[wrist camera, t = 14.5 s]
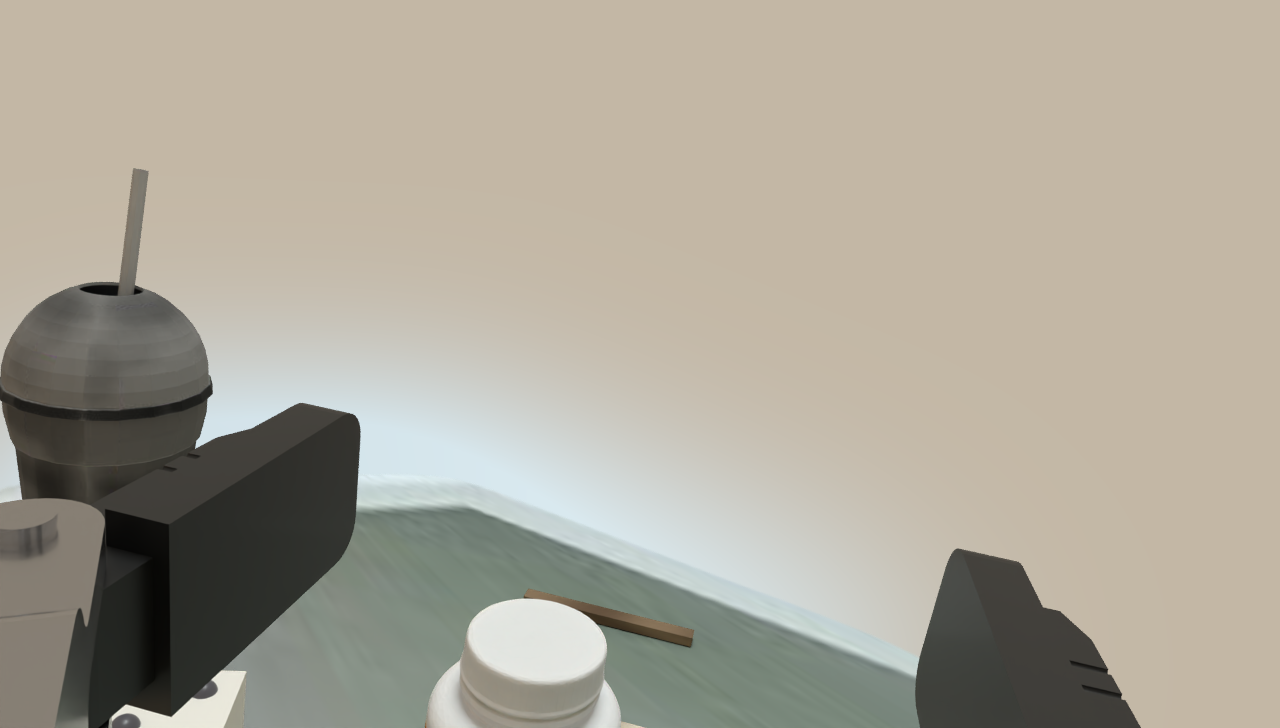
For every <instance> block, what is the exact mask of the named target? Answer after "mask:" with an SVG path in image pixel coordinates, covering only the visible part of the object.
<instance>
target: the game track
mask: <svg viewBox="0 0 1280 728" xmlns="http://www.w3.org/2000/svg"><path fill="white" fill-rule="evenodd" d="M524 599H541V600H547V601H552V602H557V603H560V604H563V605H566V606H569V607H571V608H573V609H576V610H578V611H579V612H581V613H583V614H584V615H586V616H587V617H589V618H590V619H591V620H593V621H594V622H595V623H598V624H602V625H606V626H610V627H614V628H618V629H622V630H626V631H630V632H634V633H638V634H642V635H646V636H649V637H653V638H657V639H661V640H665V641H669V642H673V643H677V644H681V645H685V646H689V647H691V643H692V639H693V634H694V630H692V629H688V628H684V627H680V626H676V625H672V624H668V623H664V622H660V621H656V620H652V619H648V618H644V617H640V616H636V615H632V614H628V613H624V612H620V611H616V610H612V609H608V608H604V607H600V606H596V605H592V604H588V603H584V602H580V601H576V600H572V599H568V598H564V597H560V596H556V595H552V594H548V593H544V592H540V591H536V590H532V589H528V590H527V592H526V594H525V595H524ZM621 728H644V727H640V726H637V725H633V724H629V723H625V722H622V721H621Z"/></svg>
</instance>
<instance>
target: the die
mask: <svg viewBox="0 0 1280 728" xmlns="http://www.w3.org/2000/svg"><path fill="white" fill-rule="evenodd" d="M245 688H246V671H220V672H219V673H218V674H217V675H216V676H215V677H214V678H213V679H212V680H211V681H210V682H208V683H207V684H206V685H205V686H204V687H203V688H202V689H201V690H200V691H199V692H198V693H197V694H196V695H195V696H193V697H192V698H191V699H190V700H189V701H188V702H187V703H186V704H185V705H184V706H183V707H182V708H181V709H180V710H178V711H177V712H176V713H175V714H174V715H173V716H172V717H169V716H165V715H162V714H158V713H154V712H151V711H147V710H144V709H140V708H137V707H133V706H129V705H125V706H124V707H122V708H121V709H120V710H119V711H118V712H116V713H115V714H114V715H113V716H112V728H243V722H244V705H245Z"/></svg>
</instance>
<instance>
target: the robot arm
mask: <svg viewBox="0 0 1280 728" xmlns="http://www.w3.org/2000/svg"><path fill="white" fill-rule="evenodd" d="M359 451H360V425H359V421H358V419H357V418H356V416H355V415H353V414H350V413H346V412H341V411H336V410H332V409H328V408H323V407H319V406H314V405H310V404H305V403H299V404H296V405H294V406H292V407H290V408H288V409H287V410H285V411H283V412H281V413H279V414H278V415H276V416H274V417H272V418H270V419H268V420H267V421H265V422H263V423H261V424H259V425H257V426H255V427H254V428H252V429H248V430H245V431H241V432H237V433H233V434H229V435H225V436H221V437H218V438H215V439H213V440H211V441H209V442H208V443H206V444H204V445H202V446H200V447H198V448H196V449H194V450H192V451H190V452H188V454H187V457H184V456H181V457H179V458H177V459H175V460H173V461H171V462H170V463H168V464H166V465H164V467H163V469H162V470H160V469H156V470H154V471H152V472H151V473H149V474H147V475H145V476H143V477H141V478H139V479H137V480H135V481H134V482H132V483H130V484H128V485H126V486H124V487H122V488H120V489H118V490H117V491H115V492H113V493H111V494H109V495H107V496H105V497H103V498H101V499H99V500H98V501H96V502H94V503H92V504H90V505H88V504H85V503H82V502H77V501H73V500H66V499H52V498H41V499H26V500H17V501H11V502H5V503H0V728H112V716H113V715H114V714H115V713H116V712H118V711H119V710H120V709H121V708H122V707H124V706H125V705H129V706H133V707H137V708H140V709H144V710H147V711H151V712H154V713H158V714H162V715H165V716H169V717H172V716H173V715H174V714H175V713H176V712H177V711H178V710H180V709H181V708H182V707H183V706H184V705H185V704H186V703H187V702H188V701H189V700H190V699H191V698H192V697H193V696H195V695H196V694H197V693H198V692H199V691H200V690H201V689H202V688H203V687H204V686H205V685H206V684H207V683H208V682H210V681H211V680H212V679H213V678H214V677H215V676H216V675H217V674H218V673H219V672H220V671H221V670H222V669H224V668H225V667H226V666H227V665H228V664H229V663H230V662H231V661H232V660H233V659H234V658H235V657H236V656H237V655H239V654H240V653H241V652H242V651H243V650H244V649H245V648H246V647H247V646H248V645H249V644H250V643H251V642H252V641H254V640H255V639H256V638H257V637H258V636H259V635H260V634H261V633H262V632H263V631H264V630H265V629H266V628H268V627H269V626H270V625H271V624H272V623H273V622H274V621H275V620H276V619H277V618H278V617H279V616H280V615H281V614H283V613H284V612H285V611H286V610H287V609H288V608H289V607H290V606H291V605H292V604H293V603H294V602H295V601H296V600H298V599H299V598H300V597H301V596H302V595H303V594H304V593H305V592H306V591H307V590H308V589H309V588H310V587H312V586H313V585H314V584H315V583H316V582H317V581H318V580H319V579H320V578H321V577H322V576H323V575H324V574H325V573H327V572H328V571H329V570H330V569H331V568H332V567H333V566H334V565H335V564H336V563H337V562H338V561H339V560H340V558H341V557H342V555H343V554H344V552H345V550H346V548H347V546H348V544H349V542H350V539H351V536H352V533H353V529H354V524H355V517H356V501H357V485H358V468H359V467H358V466H359ZM1107 672H1108V669H1107V667H1106V665H1105V663H1104V661H1103V660H1102V658H1101V656H1100V654H1099V652H1098V650H1097V649H1096V647H1095V645H1094V644H1093V642H1092V640H1091V639H1090V638H1089V637H1088V636H1087V635H1086V634H1084V633H1083V632H1082V631H1081V630H1080V629H1079V628H1078V627H1077V626H1076V625H1074V624H1073V623H1072V622H1071V621H1070V620H1069V619H1068V618H1067V617H1065V616H1064V615H1063V614H1062V613H1061V612H1060V611H1056V610H1052V609H1047V608H1043V607H1042V605H1041V603H1040V600H1039V599H1038V596H1037V594H1036V592H1035V590H1034V588H1033V587H1032V584H1031V582H1030V581H1029V578H1028V576H1027V574H1026V572H1025V571H1024V568H1023V566H1022V565H1021V564H1020V563H1019V562H1017V561H1012V560H1007V559H1003V558H998V557H994V556H989V555H985V554H980V553H976V552H971V551H966V550H962V549H956V550H954V551H953V553H952V554H951V556H950V558H949V561H948V563H947V566H946V569H945V572H944V576H943V579H942V583H941V586H940V589H939V593H938V596H937V600H936V603H935V606H934V610H933V614H932V617H931V620H930V624H929V627H928V630H927V634H926V638H925V641H924V644H923V648H922V651H921V655H920V659H919V663H918V669H917V676H916V690H915V698H916V708H917V714H918V719H919V724H920V728H1141V727H1140V725H1139V724H1138V722H1137V720H1136V718H1135V717H1134V715H1133V713H1132V711H1131V709H1130V708H1129V706H1128V704H1127V702H1126V701H1125V700H1121V696H1122V693H1121V692H1120V690H1119V688H1118V686H1117V684H1116V683H1115V681H1114V679H1113V678H1112V676H1111V675H1108V674H1107Z"/></svg>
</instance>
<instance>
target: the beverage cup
mask: <svg viewBox="0 0 1280 728" xmlns="http://www.w3.org/2000/svg"><path fill="white" fill-rule="evenodd" d="M147 179H148V171H145V170H141V169H135V168H134V169H133V175H132V182H131V191H130V199H129V207H128V215H127V224H126V233H125V241H124V249H123V257H122V265H121V273H120V282H119V283H114V282H94V283H86V284H82V285H78V286H74V287H70V288H68V289H65V290H63V291H61V292H59V293H57V294H54V295H52V296H50V297H49V298H47V299H45V300H44V301H43V302H41V303H40V304H38V305H37V306H36V307H35V308H34V309H33V310H32V311H31V312H30V313H29V314H28V315H26V317H25V318H24V320H23V321H22V322H21V324H20V325H19V326H18V328H17V329H16V331H15V332H14V334H13V335H12V337H11V339H10V342H9V343H8V345H7V348H6V350H5V353H4V357H3V361H2V365H1V377H0V400H1V401H2V408H3V414H4V418H5V421H6V425H7V428H8V432H9V435H10V439H11V440H12V442H13V444H14V446H15V449H16V456H17V463H18V470H19V478H20V486H21V493H22V500H26V499H41V498H52V499H66V500H73V501H77V502H82V503H85V504H88V505H90V504H92V503H94V502H96V501H98V500H99V499H101V498H103V497H105V496H107V495H109V494H111V493H113V492H115V491H117V490H118V489H120V488H122V487H124V486H126V485H128V484H130V483H132V482H134V481H135V480H137V479H139V478H141V477H143V476H145V475H147V474H149V473H151V472H152V471H154V470H156V469H160V470H162V469H163V467H164V465H166V464H168V463H170V462H171V461H173V460H175V459H177V458H179V457H181V456H184V457H187V454H188V452H190V451H192V450H194V449H195V445H196V440H197V439H198V438H199V437H200V434H201V431H202V427H203V423H204V419H205V416H206V412H207V399H208V398H209V397H210V396H211V395H212V394H213V390H212V381H211V377H210V375H208V360H207V356H206V351H205V348H204V345H203V343H202V340H201V338H200V336H199V334H198V333H197V331H196V329H195V327H194V326H193V324H192V323H191V322H190V321H189V320H188V319H187V317H186V316H185V315H184V314H183V313H182V312H181V311H180V310H178V309H177V308H176V307H175V306H174V305H172V304H171V303H170V302H169V301H168V300H166V299H165V298H163V297H161V296H159V295H158V294H156V293H154V292H151V291H149V290H146V289H143V288H140V287H138V286H135V279H136V271H137V262H138V254H139V245H140V238H141V228H142V221H143V213H144V203H145V196H146V187H147Z"/></svg>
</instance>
